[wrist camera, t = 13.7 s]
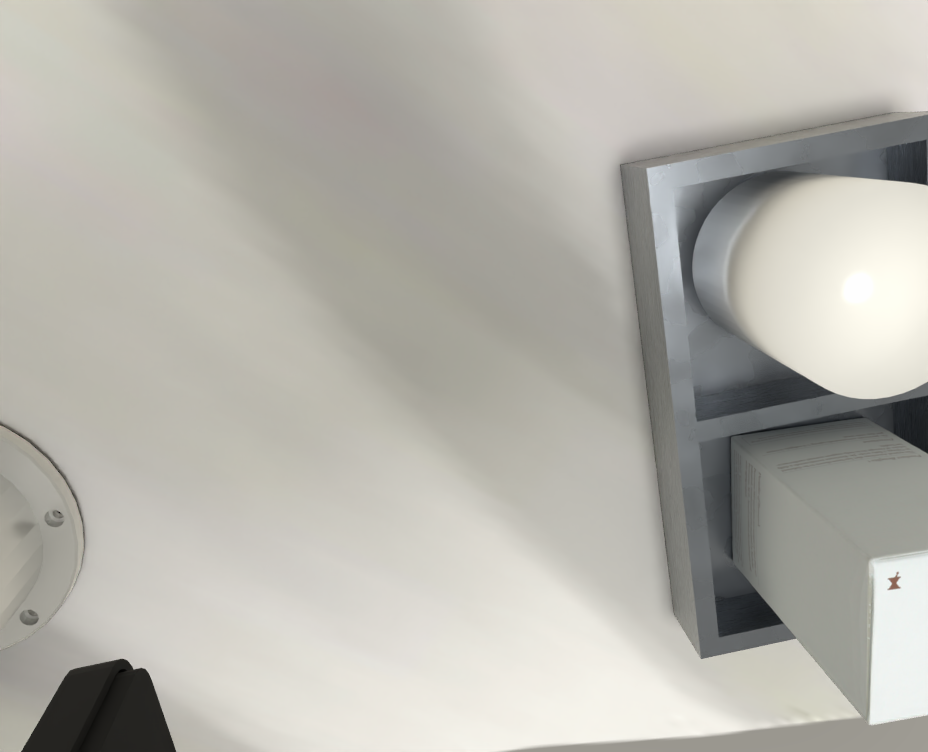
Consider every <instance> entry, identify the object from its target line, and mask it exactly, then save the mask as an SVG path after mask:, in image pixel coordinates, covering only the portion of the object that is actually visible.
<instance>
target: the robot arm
mask: <svg viewBox="0 0 928 752" xmlns="http://www.w3.org/2000/svg"><path fill="white" fill-rule="evenodd" d="M56 510H57V511H59V512H61V513H62V514H59V513H58V512H57V511H56ZM83 550H84V538H83V524H82V521H81V517H80V514H79V510H78V507H77V503H76V501H75V499H74V497H73V495H72V493H71V491H70V489H69V487H68V485H67V484H66V482H65V480H64V478H63V477H62V476H61V475H60V473H59V472H58V471H57V470H56V468H55V467H54V466H53V465H52V463H51V462H50V461H49V460H48V459H47V458H46V457H45V456H44V455H43V454H42V453H40V452H39V451H38V450H37V449H36V448H35V447H34V446H33V445H31V444H30V443H29V442H28V441H26V440H25V439H23V438H21V437H20V436H18V435H17V434H15V433H13V432H12V431H10V430H9V429H7V428H5V427H3V426H1V425H0V650H2V649H5V648H8V647H10V646H12V645H14V644H16V643H18V642H20V641H22V640H24V639H26V638H28V637H30V636H31V635H32V634H34V633H35V632H36V631H37V630H39V629H40V628H41V627H43V626H44V625H45V624H46V623H47V622H48V621H49V620H50V619H51V618H52V617H53V615H54V614H55V613H56V612H57V611H58V609H59V608H60V607H61V606H62V604H63V603H64V601H65V600H66V598H67V597H68V595H69V593H70V592H71V590H72V589H73V587H74V584H75V582H76V579H77V576H78V574H79V571H80V569H81V564H82V557H83ZM21 752H176V750H175V747H174V744H173V741H172V738H171V735H170V732H169V729H168V726H167V724H166V721H165V718H164V715H163V712H162V709H161V706H160V703H159V700H158V697H157V694H156V691H155V689H154V686H153V683H152V680H151V678H150V675H149V673H148V672H147V671H146V670H145V669H143V668H139V669H135V670H133V667H132V666H131V664H130V663H129V662H128V661H127V660H124V659H119V660H114V661H109V662H105V663H100V664H95V665H90V666H86V667H81V668H76V669H73V670H70V671H69V673H68V674H67V675H66V676H65V678H64V680H63V681H62V683H61V685H60V686H59V688H58V690H57V692H56V693H55V695H54V697H53V698H52V700H51V702H50V704H49V705H48V707H47V709H46V710H45V712H44V714H43V715H42V717H41V719H40V721H39V722H38V724H37V726H36V727H35V729H34V731H33V733H32V734H31V736H30V738H29V739H28V741H27V743H26V745H25V746H24V748H23V750H22V751H21Z"/></svg>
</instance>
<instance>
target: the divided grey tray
mask: <svg viewBox="0 0 928 752" xmlns="http://www.w3.org/2000/svg"><path fill="white" fill-rule="evenodd" d="M620 167H621V175H622V184H623V192H624V200H625V209H626V217H627V225H628V234H629V242H630V250H631V259H632V267H633V275H634V284H635V292H636V300H637V309H638V317H639V325H640V334H641V342H642V350H643V359H644V367H645V375H646V384H647V392H648V400H649V409H650V417H651V425H652V434H653V442H654V450H655V459H656V467H657V475H658V484H659V492H660V500H661V509H662V517H663V526H664V534H665V542H666V551H667V559H668V567H669V576H670V584H671V592H672V601H673V609H674V615H675V617H676V618H677V620H678V621H679V623H680V625H681V626H682V628H683V630H684V631H685V633H686V635H687V636H688V638H689V640H690V641H691V643H692V645H693V646H694V648H695V650H696V651H697V653H698V655H699V656H700V658H701V659H703V658H708V657H712V656H717V655H722V654H726V653H731V652H736V651H740V650H745V649H749V648H754V647H759V646H763V645H768V644H773V643H777V642H782V641H787V640H791V639H796V637H795V636H794V635H793V634H792V632H791V631H790V630H789V629H788V627H787V626H786V625H785V624H784V623H783V622H782V620H781V619H780V618H779V617H778V616H777V614H776V613H775V612H774V611H773V610H772V608H771V607H770V606H769V605H768V604H767V603H766V601H765V600H764V599H763V598H762V597H761V595H760V594H759V593H758V592H757V591H756V589H755V588H754V587H753V586H752V585H751V583H750V582H749V581H748V580H747V578H746V577H745V576H744V575H743V574H742V573H741V571H740V570H739V569H738V568H737V567H736V566H735V564H734V562H733V550H732V494H731V437H733V436H739V435H746V434H752V433H759V432H766V431H773V430H780V429H787V428H794V427H800V426H807V425H814V424H821V423H828V422H835V421H842V420H850V419H857V418H867V419H869V420H871V421H872V422H874V423H876V424H877V425H879V426H881V427H882V428H884V429H886V430H888V431H890V432H891V433H893V434H895V435H896V436H898V437H900V438H901V439H903V440H905V441H907V442H908V443H910V444H912V445H913V446H915V447H917V448H919V449H920V450H922V451H924V452H925V453H927V454H928V382H926V383H924V384H923V385H921V386H919V387H917V388H915V389H912V390H910V391H907V392H905V393H902V394H899V395H895V396H891V397H886V398H879V399H858V398H850V397H846V396H843V395H839V394H836V393H834V392H831V391H829V390H827V389H825V388H823V387H822V386H820V385H818V384H816V383H815V382H813V381H811V380H809V379H808V378H806V377H804V376H803V375H801V374H799V373H797V372H796V371H794V370H792V369H791V368H789V367H787V366H785V365H784V364H782V363H780V362H778V361H777V360H775V359H773V358H772V357H770V356H768V355H766V354H765V353H763V352H761V351H760V350H758V349H756V348H754V347H753V346H751V345H749V344H747V343H746V342H744V341H742V340H741V339H739V338H737V337H735V336H734V335H732V334H730V333H729V332H727V331H725V330H724V329H722V328H721V327H720V326H719V325H717V324H716V323H715V322H714V321H713V320H712V319H711V318H710V316H709V315H708V314H707V313H706V311H705V310H704V308H703V307H702V305H701V303H700V300H699V298H698V296H697V293H696V290H695V286H694V281H693V272H692V261H693V252H694V248H695V243H696V240H697V237H698V234H699V231H700V229H701V227H702V225H703V223H704V221H705V219H706V218H707V216H708V215H709V213H710V212H711V210H712V209H713V208H714V206H715V205H716V204H717V203H718V202H719V201H720V200H721V199H722V198H723V197H724V196H725V195H726V194H727V193H728V192H729V191H731V190H732V189H734V188H735V187H736V186H738V185H739V184H741V183H743V182H745V181H747V180H749V179H751V178H753V177H756V176H758V175H762V174H766V173H770V172H778V171H793V172H804V173H814V174H825V175H835V176H846V177H856V178H867V179H877V180H888V181H898V182H909V183H916V184H922V185H927V186H928V111H923V112H897V113H889V114H884V115H878V116H873V117H868V118H863V119H858V120H852V121H847V122H842V123H837V124H831V125H826V126H821V127H816V128H810V129H805V130H800V131H795V132H790V133H784V134H779V135H774V136H769V137H763V138H758V139H753V140H748V141H742V142H737V143H732V144H727V145H722V146H716V147H711V148H706V149H701V150H695V151H690V152H685V153H680V154H675V155H669V156H664V157H659V158H654V159H648V160H643V161H638V162H633V163H627V164H622V165H620Z"/></svg>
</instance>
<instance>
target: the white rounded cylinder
mask: <svg viewBox="0 0 928 752" xmlns="http://www.w3.org/2000/svg"><path fill="white" fill-rule="evenodd" d="M692 272H693V281H694V286H695V290H696V293H697V296H698V298H699V300H700V303H701V305H702V307H703V308H704V310H705V311H706V313H707V314H708V315H709V316H710V318H711V319H712V320H713V321H714V322H715V323H716V324H717V325H719V326H720V327H721V328H722V329H724V330H725V331H727V332H729V333H730V334H732V335H734V336H735V337H737V338H739V339H741V340H742V341H744V342H746V343H747V344H749V345H751V346H753V347H754V348H756V349H758V350H760V351H761V352H763V353H765V354H766V355H768V356H770V357H772V358H773V359H775V360H777V361H778V362H780V363H782V364H784V365H785V366H787V367H789V368H791V369H792V370H794V371H796V372H797V373H799V374H801V375H803V376H804V377H806V378H808V379H809V380H811V381H813V382H815V383H816V384H818V385H820V386H822V387H823V388H825V389H827V390H829V391H831V392H834V393H836V394H839V395H843V396H846V397H850V398H858V399H879V398H886V397H891V396H895V395H899V394H902V393H905V392H907V391H910V390H912V389H915V388H917V387H919V386H921V385H923V384H924V383H926V382H928V186H927V185H922V184H916V183H909V182H898V181H888V180H877V179H867V178H856V177H846V176H835V175H825V174H814V173H804V172H793V171H778V172H770V173H766V174H762V175H758V176H756V177H753V178H751V179H749V180H747V181H745V182H743V183H741V184H739V185H738V186H736V187H735V188H734V189H732V190H731V191H729V192H728V193H727V194H726V195H725V196H724V197H723V198H722V199H721V200H720V201H719V202H718V203H717V204H716V205H715V206H714V208H713V209H712V210H711V212H710V213H709V215H708V216H707V218H706V219H705V221H704V223H703V225H702V227H701V229H700V231H699V234H698V237H697V240H696V243H695V248H694V252H693V261H692Z"/></svg>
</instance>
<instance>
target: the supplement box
mask: <svg viewBox="0 0 928 752" xmlns="http://www.w3.org/2000/svg"><path fill="white" fill-rule="evenodd" d="M731 494H732V550H733V562H734V564H735V566H736V567H737V568H738V569H739V570H740V571H741V573H742V574H743V575H744V576H745V577H746V578H747V580H748V581H749V582H750V583H751V585H752V586H753V587H754V588H755V589H756V591H757V592H758V593H759V594H760V595H761V597H762V598H763V599H764V600H765V601H766V603H767V604H768V605H769V606H770V607H771V608H772V610H773V611H774V612H775V613H776V614H777V616H778V617H779V618H780V619H781V620H782V622H783V623H784V624H785V625H786V626H787V627H788V629H789V630H790V631H791V632H792V634H793V635H794V636H795V637H796V638H797V640H798V641H799V642H800V643H801V644H802V646H803V647H804V648H805V649H806V651H807V652H808V653H809V654H810V655H811V656H812V658H813V659H814V660H815V661H816V662H817V664H818V665H819V666H820V667H821V668H822V669H823V670H824V672H825V673H826V674H827V675H828V677H829V678H830V679H831V680H832V681H833V682H834V684H835V685H836V686H837V687H838V688H839V690H840V691H841V692H842V693H843V695H844V696H845V697H846V698H847V699H848V700H849V702H850V703H851V704H852V705H853V706H854V708H855V709H856V710H857V711H858V712H859V714H860V715H861V716H862V717H863V718H864V719H865V721H866V722H867V723H868V724H869V725H875V724H880V723H887V722H892V721H897V720H903V719H909V718H913V717H920V716H926V715H928V454H927V453H925V452H924V451H922V450H920V449H919V448H917V447H915V446H913V445H912V444H910V443H908V442H907V441H905V440H903V439H901V438H900V437H898V436H896V435H895V434H893V433H891V432H890V431H888V430H886V429H884V428H882V427H881V426H879V425H877V424H876V423H874V422H872V421H871V420H869V419H867V418H857V419H850V420H842V421H835V422H828V423H821V424H814V425H807V426H800V427H794V428H787V429H780V430H773V431H766V432H759V433H752V434H746V435H739V436H733V437H731Z"/></svg>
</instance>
